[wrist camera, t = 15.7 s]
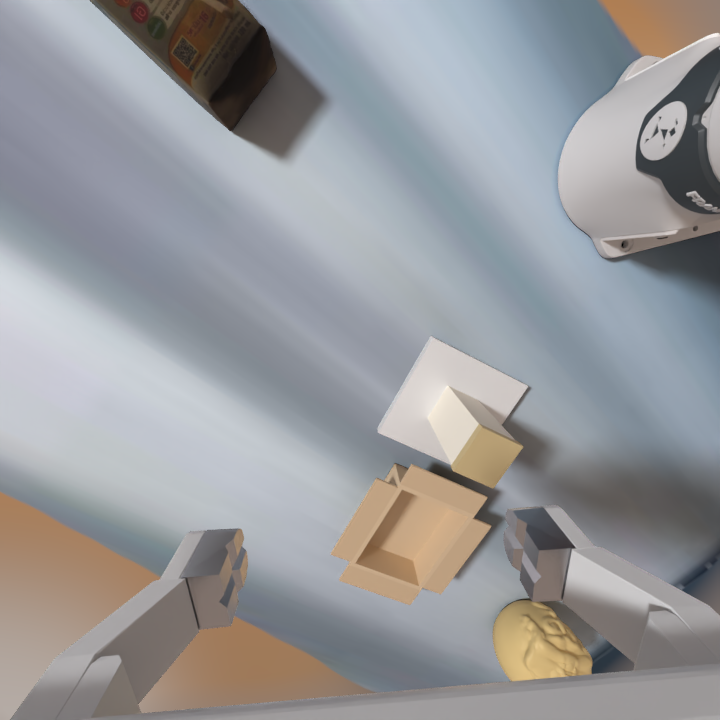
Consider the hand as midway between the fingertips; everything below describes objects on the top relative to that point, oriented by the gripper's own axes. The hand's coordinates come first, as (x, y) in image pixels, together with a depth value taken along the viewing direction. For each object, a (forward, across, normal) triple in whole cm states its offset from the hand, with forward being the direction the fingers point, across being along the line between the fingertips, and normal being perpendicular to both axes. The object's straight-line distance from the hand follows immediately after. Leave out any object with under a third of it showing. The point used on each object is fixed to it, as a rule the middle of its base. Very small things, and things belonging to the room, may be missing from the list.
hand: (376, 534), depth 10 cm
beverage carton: (+32, +15, -30) cm, 46 cm away
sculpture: (+31, -25, +50) cm, 64 cm away
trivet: (+31, -12, +11) cm, 35 cm away
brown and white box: (+30, -12, +11) cm, 34 cm away
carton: (+31, -6, +28) cm, 42 cm away
